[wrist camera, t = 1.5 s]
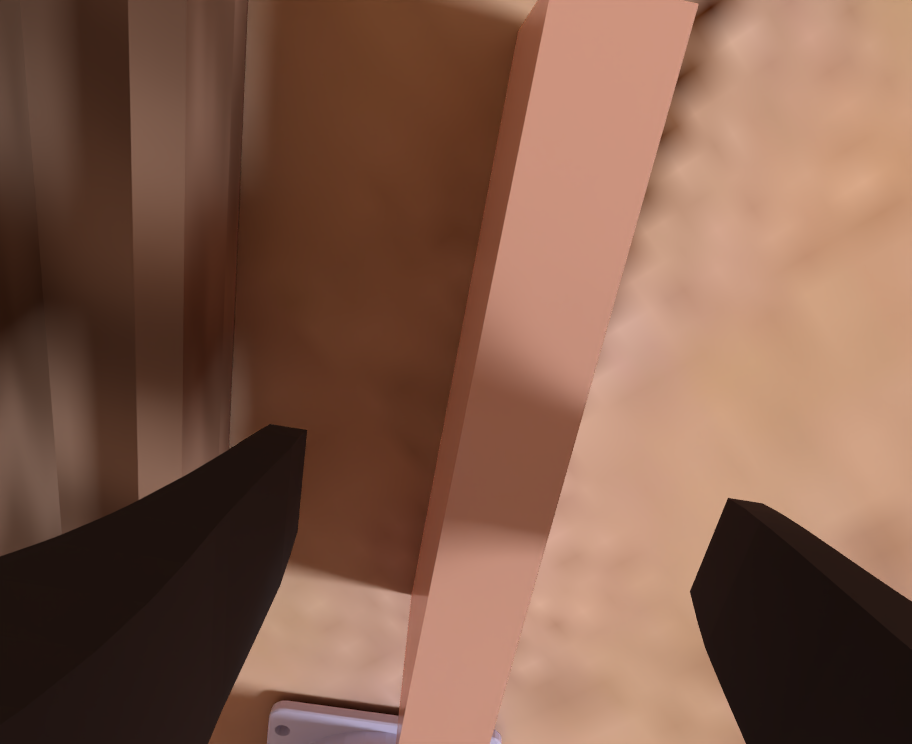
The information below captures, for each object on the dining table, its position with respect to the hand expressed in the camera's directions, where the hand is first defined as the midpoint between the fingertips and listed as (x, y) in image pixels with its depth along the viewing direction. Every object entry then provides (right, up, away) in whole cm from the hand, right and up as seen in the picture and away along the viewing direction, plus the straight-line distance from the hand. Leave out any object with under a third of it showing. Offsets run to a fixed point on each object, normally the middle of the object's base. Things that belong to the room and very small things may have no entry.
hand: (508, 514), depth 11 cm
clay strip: (0, +2, +6) cm, 7 cm away
